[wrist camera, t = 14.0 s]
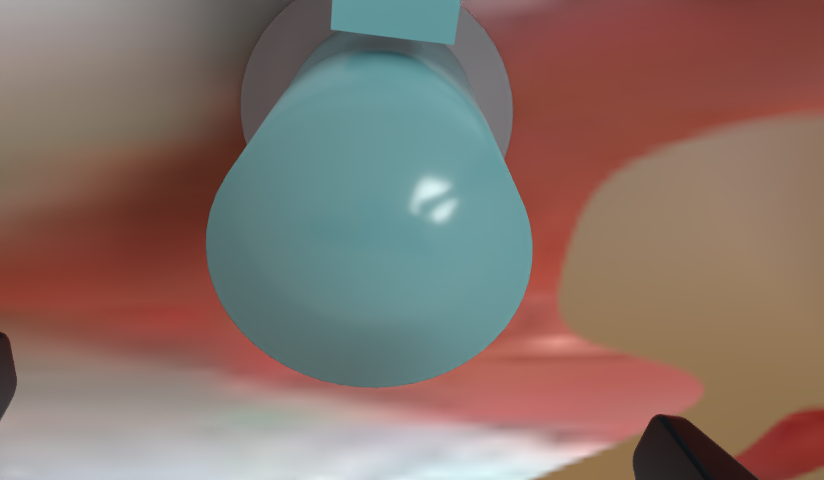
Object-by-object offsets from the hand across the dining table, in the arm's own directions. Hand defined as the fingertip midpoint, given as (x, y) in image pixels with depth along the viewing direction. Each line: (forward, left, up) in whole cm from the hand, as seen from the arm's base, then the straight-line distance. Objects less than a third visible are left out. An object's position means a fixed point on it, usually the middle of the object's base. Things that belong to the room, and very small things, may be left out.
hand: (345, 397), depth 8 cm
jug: (0, -3, -13) cm, 13 cm away
